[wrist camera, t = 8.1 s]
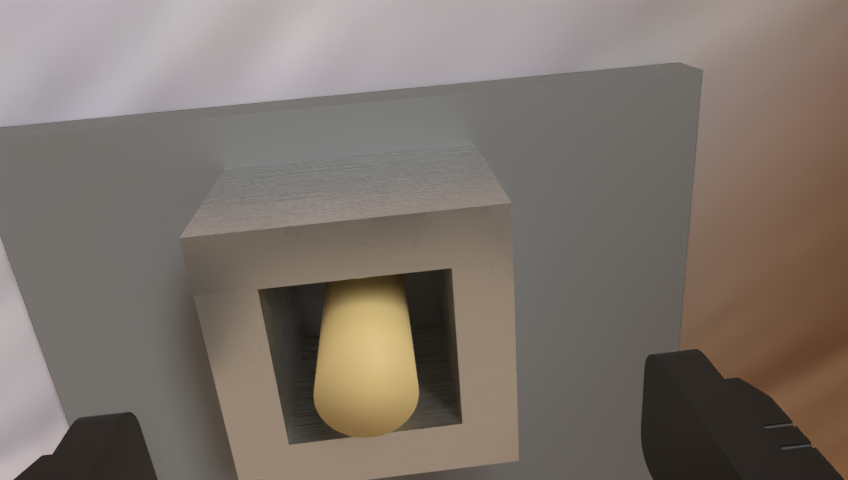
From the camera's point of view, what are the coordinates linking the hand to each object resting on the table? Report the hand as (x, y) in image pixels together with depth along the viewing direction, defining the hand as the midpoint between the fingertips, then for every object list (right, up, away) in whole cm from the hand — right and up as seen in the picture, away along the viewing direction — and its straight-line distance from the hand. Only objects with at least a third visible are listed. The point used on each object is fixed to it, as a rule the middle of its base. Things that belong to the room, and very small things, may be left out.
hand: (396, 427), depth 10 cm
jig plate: (0, -5, +10) cm, 11 cm away
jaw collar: (-1, +2, +5) cm, 6 cm away
